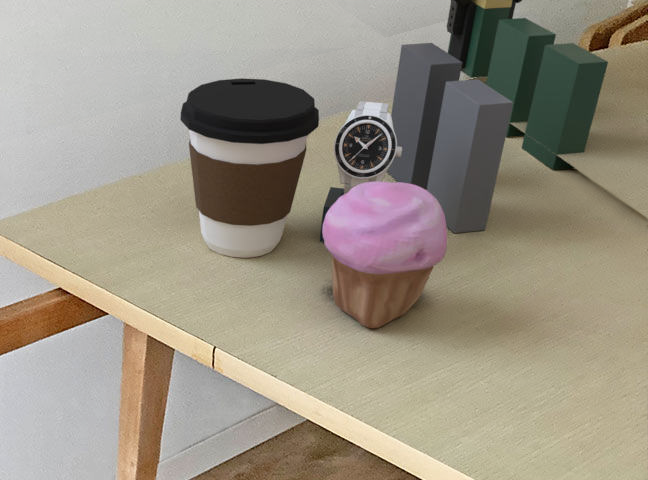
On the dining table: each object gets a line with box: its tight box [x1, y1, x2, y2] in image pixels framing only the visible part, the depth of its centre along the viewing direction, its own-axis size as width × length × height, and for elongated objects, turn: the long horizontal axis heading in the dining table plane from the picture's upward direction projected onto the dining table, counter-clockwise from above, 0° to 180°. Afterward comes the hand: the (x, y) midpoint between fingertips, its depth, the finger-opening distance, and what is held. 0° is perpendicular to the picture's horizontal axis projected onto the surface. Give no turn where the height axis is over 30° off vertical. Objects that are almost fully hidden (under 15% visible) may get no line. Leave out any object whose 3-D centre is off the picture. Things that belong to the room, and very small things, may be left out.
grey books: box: [386, 42, 513, 234], centre depth 95 cm, size 15×3×12 cm, turn 14°
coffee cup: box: [179, 77, 320, 259], centre depth 87 cm, size 11×11×12 cm
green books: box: [485, 17, 609, 171], centre depth 107 cm, size 15×3×10 cm, turn 14°
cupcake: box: [322, 181, 448, 329], centre depth 79 cm, size 9×9×10 cm
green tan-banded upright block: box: [447, 0, 512, 79], centre depth 116 cm, size 6×3×10 cm, turn 14°
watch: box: [319, 100, 402, 243], centre depth 89 cm, size 6×8×11 cm
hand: (471, 63), depth 118 cm, fingers closed on green tan-banded upright block, 3 cm apart
